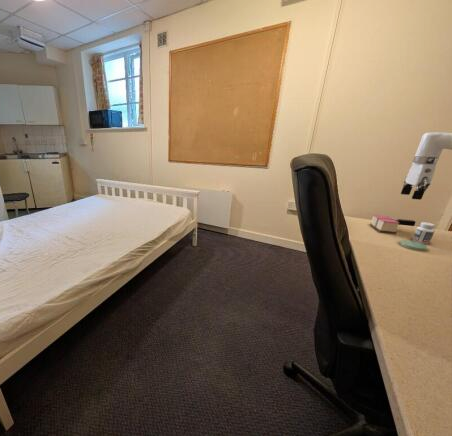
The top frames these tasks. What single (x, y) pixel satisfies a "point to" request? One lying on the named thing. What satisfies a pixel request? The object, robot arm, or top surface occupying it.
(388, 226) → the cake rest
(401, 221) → the knife
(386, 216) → the cake slice
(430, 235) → the pill bottle
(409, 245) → the plate
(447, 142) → the robot arm
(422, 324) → the top surface
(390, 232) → the cake board
